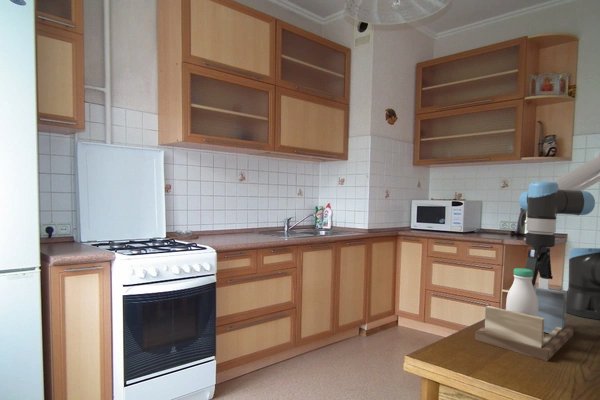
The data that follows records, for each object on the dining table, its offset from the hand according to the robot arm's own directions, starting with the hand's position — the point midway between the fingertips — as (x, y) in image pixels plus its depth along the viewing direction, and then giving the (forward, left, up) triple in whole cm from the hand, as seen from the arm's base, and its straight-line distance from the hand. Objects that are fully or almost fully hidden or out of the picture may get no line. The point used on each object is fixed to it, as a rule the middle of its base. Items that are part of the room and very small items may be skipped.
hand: (536, 302), depth 115 cm
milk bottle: (+13, +7, -8) cm, 17 cm away
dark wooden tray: (+10, +5, -8) cm, 14 cm away
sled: (+9, +4, -8) cm, 13 cm away
